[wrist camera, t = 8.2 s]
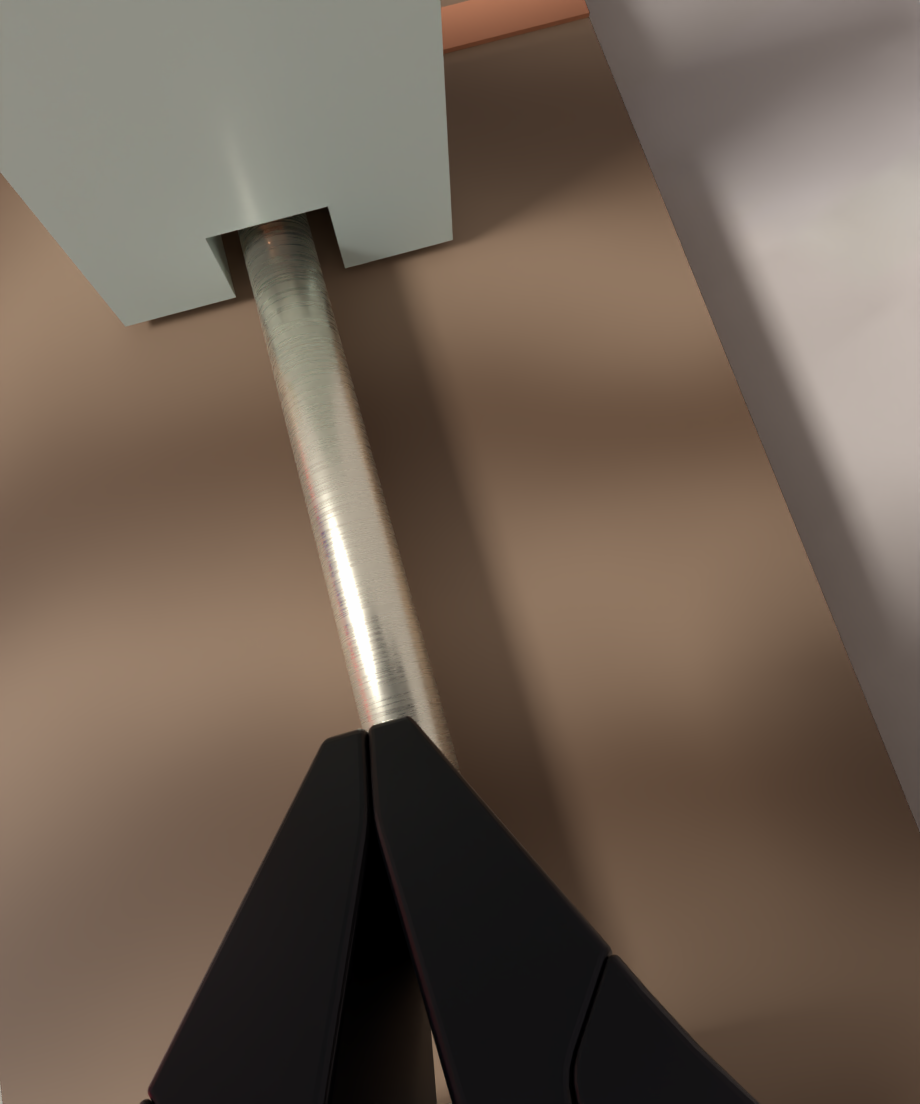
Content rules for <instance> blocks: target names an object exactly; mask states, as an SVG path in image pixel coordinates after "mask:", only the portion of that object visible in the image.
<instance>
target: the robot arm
mask: <svg viewBox="0 0 920 1104" xmlns="http://www.w3.org/2000/svg"><path fill="white" fill-rule="evenodd" d="M431 1031H432V1034H433V1038H434V1042H435V1045H436V1049H437V1052H438V1056H439V1059H440V1063H441V1066H442V1070H443V1073H444V1077H445V1080H446V1084H447V1087H448V1091H449V1094H450V1098H451V1102H452V1104H760V1103H759V1102H758V1101H757V1100H756V1099H755V1098H754V1097H753V1096H751V1095H750V1094H749V1093H748V1092H747V1091H746V1090H745V1089H744V1088H743V1087H742V1086H741V1085H740V1084H739V1083H738V1082H737V1081H736V1080H735V1079H734V1078H733V1077H732V1076H731V1075H730V1074H729V1073H728V1072H727V1071H725V1070H724V1069H723V1068H722V1067H721V1066H720V1065H719V1064H718V1063H717V1062H716V1061H715V1060H714V1059H713V1058H712V1057H711V1056H710V1055H709V1054H708V1053H707V1052H706V1051H705V1050H704V1049H703V1048H702V1047H701V1046H700V1045H699V1044H698V1043H697V1042H696V1041H695V1040H694V1039H693V1038H692V1037H691V1036H690V1034H689V1033H688V1032H687V1031H686V1030H685V1029H684V1028H683V1027H682V1026H681V1025H680V1024H679V1023H678V1022H677V1020H676V1019H675V1018H674V1017H673V1016H672V1015H671V1014H670V1013H669V1012H668V1011H667V1010H666V1009H665V1007H664V1006H663V1005H662V1004H661V1003H660V1002H659V1001H658V1000H657V999H656V998H655V997H654V996H653V995H652V993H651V992H650V991H649V990H648V989H647V988H646V987H645V986H644V984H643V983H642V982H641V981H640V980H639V979H638V977H637V976H636V975H635V974H634V973H633V972H632V971H631V969H630V968H629V967H628V966H627V965H626V964H625V962H624V961H623V960H622V959H621V958H620V957H619V956H618V955H615V954H612V950H611V947H610V946H609V945H608V944H607V942H606V941H605V940H604V939H603V938H602V937H601V935H600V934H599V933H598V932H597V931H596V930H595V929H594V927H593V926H592V925H591V924H590V923H589V922H588V920H587V919H586V918H585V917H584V916H583V915H582V914H581V912H580V911H579V910H578V909H577V908H576V907H575V905H574V904H573V903H572V902H571V901H570V900H569V899H568V897H567V896H566V895H565V894H564V893H563V892H562V890H561V889H560V888H559V887H558V886H557V885H556V883H555V882H554V881H553V880H552V879H551V878H550V877H549V875H548V874H547V873H546V872H545V871H544V870H543V868H542V867H541V866H540V865H539V864H538V863H537V862H536V860H535V859H534V858H533V857H532V856H531V855H530V853H529V852H528V851H527V850H526V849H525V848H524V846H523V845H522V844H521V843H520V842H519V841H518V840H517V838H516V837H515V836H514V835H513V834H512V833H511V831H510V830H509V829H508V828H507V827H506V826H505V825H504V823H503V822H502V821H501V820H500V819H499V818H498V816H497V815H496V814H495V813H494V812H493V811H492V809H491V808H490V807H489V806H488V805H487V804H486V803H485V801H484V800H483V799H482V798H481V797H480V796H479V794H478V793H477V792H476V791H475V790H474V789H473V788H472V786H471V785H470V784H469V783H468V782H467V781H466V779H465V778H464V777H463V776H462V775H461V774H460V772H459V771H458V770H457V769H456V768H455V767H454V766H453V764H452V763H451V762H450V761H449V760H448V759H447V757H446V756H445V755H444V754H443V753H442V752H441V751H440V749H439V748H438V747H437V746H436V745H435V744H434V742H433V741H432V740H431V739H430V738H429V737H428V735H427V734H426V733H425V732H424V731H423V730H422V729H421V727H420V726H419V725H418V724H417V723H416V722H415V720H414V719H412V718H411V717H410V716H401V717H397V718H394V719H391V720H387V721H384V722H380V723H377V724H374V725H372V726H371V727H370V729H369V732H367V731H366V730H364V729H356V730H353V731H349V732H346V733H342V734H339V735H336V736H332V737H329V738H327V739H325V741H324V742H323V743H322V744H321V746H320V748H319V750H318V752H317V753H316V755H315V757H314V759H313V761H312V763H311V765H310V767H309V769H308V771H307V773H306V775H305V777H304V779H303V781H302V783H301V785H300V787H299V789H298V791H297V793H296V795H295V797H294V799H293V801H292V803H291V805H290V807H289V809H288V811H287V813H286V815H285V817H284V819H283V821H282V823H281V825H280V827H279V829H278V831H277V833H276V835H275V837H274V839H273V841H272V843H271V845H270V847H269V849H268V851H267V853H266V855H265V857H264V859H263V861H262V863H261V865H260V867H259V869H258V871H257V873H256V874H255V876H254V878H253V880H252V882H251V884H250V886H249V888H248V890H247V892H246V894H245V896H244V898H243V900H242V902H241V904H240V906H239V908H238V910H237V912H236V914H235V916H234V918H233V920H232V922H231V924H230V926H229V928H228V930H227V932H226V934H225V936H224V938H223V940H222V942H221V944H220V946H219V948H218V950H217V952H216V954H215V956H214V958H213V960H212V962H211V964H210V966H209V968H208V970H207V972H206V974H205V976H204V978H203V980H202V982H201V984H200V986H199V988H198V990H197V992H196V994H195V995H194V997H193V999H192V1001H191V1003H190V1005H189V1007H188V1009H187V1011H186V1013H185V1015H184V1017H183V1019H182V1021H181V1023H180V1025H179V1027H178V1029H177V1031H176V1033H175V1035H174V1037H173V1039H172V1041H171V1043H170V1045H169V1047H168V1049H167V1051H166V1053H165V1055H164V1057H163V1059H162V1061H161V1063H160V1065H159V1067H158V1069H157V1071H156V1073H155V1075H154V1077H153V1079H152V1081H151V1083H150V1085H149V1087H148V1090H147V1092H148V1095H149V1097H150V1099H151V1100H150V1099H144V1100H142V1101H141V1102H140V1104H437V1097H436V1084H435V1072H434V1059H433V1046H432V1034H431Z"/></svg>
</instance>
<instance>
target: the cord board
mask: <svg viewBox="0 0 920 1104" xmlns="http://www.w3.org/2000/svg"><path fill="white" fill-rule="evenodd" d="M440 1H441V21H442V40H443V59H444V78H445V98H446V117H447V136H448V156H449V175H450V194H451V213H452V233H453V240H451V241H447V242H443V243H439V244H436V245H432V246H428V247H424V248H420V249H417V250H413V251H409V252H405V253H402V254H398V255H394V256H390V257H386V258H383V259H379V260H375V261H371V262H368V263H364V264H360V265H356V266H352V267H349V268H345V266H344V263H343V259H342V256H341V252H340V249H339V245H338V242H337V238H336V235H335V231H334V228H333V224H332V221H331V217H330V214H329V210H328V207H324V208H320V209H316V210H312V211H308V212H305V213H306V216H307V220H308V224H309V227H310V231H311V234H312V238H313V242H314V245H315V249H316V252H317V256H318V260H319V263H320V267H321V271H322V274H323V278H324V281H325V285H326V289H327V292H328V296H329V299H330V303H331V307H332V310H333V314H334V318H335V321H336V325H337V328H338V332H339V336H340V339H341V343H342V346H343V350H344V354H345V357H346V361H347V365H348V368H349V372H350V375H351V379H352V383H353V386H354V390H355V393H356V397H357V401H358V404H359V408H360V412H361V415H362V419H363V422H364V426H365V430H366V433H367V437H368V440H369V444H370V448H371V451H372V455H373V459H374V462H375V466H376V469H377V473H378V477H379V480H380V484H381V487H382V491H383V495H384V498H385V502H386V506H387V509H388V513H389V516H390V520H391V524H392V527H393V531H394V534H395V538H396V542H397V545H398V549H399V553H400V556H401V560H402V563H403V567H404V571H405V574H406V578H407V581H408V585H409V589H410V592H411V596H412V600H413V603H414V607H415V610H416V614H417V618H418V621H419V625H420V628H421V632H422V636H423V639H424V643H425V647H426V650H427V654H428V657H429V661H430V665H431V668H432V672H433V675H434V679H435V683H436V686H437V690H438V694H439V697H440V701H441V704H442V708H443V712H444V715H445V719H446V722H447V726H448V730H449V733H450V737H451V741H452V744H453V748H454V751H455V755H456V759H457V762H458V766H459V769H460V773H461V775H462V776H463V777H464V778H465V779H466V781H467V782H468V783H469V784H470V785H471V786H472V788H473V789H474V790H475V791H476V792H477V793H478V794H479V796H480V797H481V798H482V799H483V800H484V801H485V803H486V804H487V805H488V806H489V807H490V808H491V809H492V811H493V812H494V813H495V814H496V815H497V816H498V818H499V819H500V820H501V821H502V822H503V823H504V825H505V826H506V827H507V828H508V829H509V830H510V831H511V833H512V834H513V835H514V836H515V837H516V838H517V840H518V841H519V842H520V843H521V844H522V845H523V846H524V848H525V849H526V850H527V851H528V852H529V853H530V855H531V856H532V857H533V858H534V859H535V860H536V862H537V863H538V864H539V865H540V866H541V867H542V868H543V870H544V871H545V872H546V873H547V874H548V875H549V877H550V878H551V879H552V880H553V881H554V882H555V883H556V885H557V886H558V887H559V888H560V889H561V890H562V892H563V893H564V894H565V895H566V896H567V897H568V899H569V900H570V901H571V902H572V903H573V904H574V905H575V907H576V908H577V909H578V910H579V911H580V912H581V914H582V915H583V916H584V917H585V918H586V919H587V920H588V922H589V923H590V924H591V925H592V926H593V927H594V929H595V930H596V931H597V932H598V933H599V934H600V935H601V937H602V938H603V939H604V940H605V941H606V942H607V944H608V945H609V946H610V947H611V950H612V954H615V955H618V956H619V957H620V958H621V959H622V960H623V961H624V962H625V964H626V965H627V966H628V967H629V968H630V969H631V971H632V972H633V973H634V974H635V975H636V976H637V977H638V979H639V980H640V981H641V982H642V983H643V984H644V986H645V987H646V988H647V989H648V990H649V991H650V992H651V993H652V995H653V996H654V997H655V998H656V999H657V1000H658V1001H659V1002H660V1003H661V1004H662V1005H663V1006H664V1007H665V1009H666V1010H667V1011H668V1012H669V1013H670V1014H671V1015H672V1016H673V1017H674V1018H675V1019H676V1020H677V1022H678V1023H679V1024H680V1025H681V1026H682V1027H683V1028H684V1029H685V1030H686V1031H687V1032H688V1033H689V1034H690V1036H691V1037H692V1038H693V1039H694V1040H695V1041H696V1042H697V1043H698V1044H699V1045H700V1046H701V1047H702V1048H703V1049H704V1050H705V1051H706V1052H707V1053H708V1054H709V1055H710V1056H711V1057H712V1058H713V1059H714V1060H715V1061H716V1062H717V1063H718V1064H719V1065H720V1066H721V1067H722V1068H723V1069H724V1070H725V1071H727V1072H728V1073H729V1074H730V1075H731V1076H732V1077H733V1078H734V1079H735V1080H736V1081H737V1082H738V1083H739V1084H740V1085H741V1086H742V1087H743V1088H744V1089H745V1090H746V1091H747V1092H748V1093H749V1094H750V1095H751V1096H753V1097H754V1098H755V1099H756V1100H757V1101H758V1102H759V1103H760V1104H920V832H919V829H918V827H917V825H916V822H915V820H914V817H913V815H912V812H911V810H910V807H909V805H908V802H907V800H906V797H905V795H904V793H903V790H902V788H901V785H900V783H899V780H898V778H897V775H896V773H895V770H894V768H893V765H892V763H891V760H890V758H889V756H888V753H887V751H886V748H885V746H884V743H883V741H882V738H881V736H880V733H879V731H878V728H877V726H876V723H875V721H874V719H873V716H872V714H871V711H870V709H869V706H868V704H867V701H866V699H865V696H864V694H863V691H862V689H861V687H860V684H859V682H858V679H857V677H856V674H855V672H854V669H853V667H852V664H851V662H850V659H849V657H848V654H847V652H846V650H845V647H844V645H843V642H842V640H841V637H840V635H839V632H838V630H837V627H836V625H835V622H834V620H833V618H832V615H831V613H830V610H829V608H828V605H827V603H826V600H825V598H824V595H823V593H822V590H821V588H820V585H819V583H818V581H817V578H816V576H815V573H814V571H813V568H812V566H811V563H810V561H809V558H808V556H807V553H806V551H805V548H804V546H803V544H802V541H801V539H800V536H799V534H798V531H797V529H796V526H795V524H794V521H793V519H792V516H791V514H790V512H789V509H788V507H787V504H786V502H785V499H784V497H783V494H782V492H781V489H780V487H779V484H778V482H777V479H776V477H775V475H774V472H773V470H772V467H771V465H770V462H769V460H768V457H767V455H766V452H765V450H764V447H763V445H762V443H761V440H760V438H759V435H758V433H757V430H756V428H755V425H754V423H753V420H752V418H751V415H750V413H749V410H748V408H747V406H746V403H745V401H744V398H743V396H742V393H741V391H740V388H739V386H738V383H737V381H736V378H735V376H734V373H733V371H732V369H731V366H730V364H729V361H728V359H727V356H726V354H725V351H724V349H723V346H722V344H721V341H720V339H719V337H718V334H717V332H716V329H715V327H714V324H713V322H712V319H711V317H710V314H709V312H708V309H707V307H706V304H705V302H704V300H703V297H702V295H701V292H700V290H699V287H698V285H697V282H696V280H695V277H694V275H693V272H692V270H691V268H690V265H689V263H688V260H687V258H686V255H685V253H684V250H683V248H682V245H681V243H680V240H679V238H678V235H677V233H676V231H675V228H674V226H673V223H672V221H671V218H670V216H669V213H668V211H667V208H666V206H665V203H664V201H663V198H662V196H661V194H660V191H659V189H658V186H657V184H656V181H655V179H654V176H653V174H652V171H651V169H650V166H649V164H648V162H647V159H646V157H645V154H644V152H643V149H642V147H641V144H640V142H639V139H638V137H637V134H636V132H635V129H634V127H633V125H632V122H631V120H630V117H629V115H628V112H627V110H626V107H625V105H624V102H623V100H622V97H621V95H620V93H619V90H618V88H617V85H616V83H615V80H614V78H613V75H612V73H611V70H610V68H609V65H608V63H607V60H606V58H605V56H604V53H603V51H602V48H601V46H600V43H599V41H598V38H597V36H596V33H595V31H594V28H593V26H592V23H591V21H590V19H589V10H588V8H587V5H586V3H585V0H440ZM221 238H222V242H223V246H224V250H225V254H226V258H227V263H228V267H229V271H230V275H231V279H232V283H233V287H234V291H235V295H236V297H235V298H232V299H228V300H224V301H220V302H217V303H213V304H209V305H205V306H201V307H198V308H194V309H190V310H186V311H183V312H179V313H175V314H171V315H168V316H164V317H160V318H156V319H152V320H149V321H145V322H141V323H137V324H134V325H130V326H126V327H125V325H124V324H123V323H122V322H121V320H120V319H119V318H118V317H117V316H116V314H115V313H114V312H113V311H112V309H111V308H110V307H109V306H108V304H107V303H106V302H105V301H104V300H103V298H102V297H101V296H100V295H99V293H98V292H97V291H96V290H95V288H94V287H93V286H92V285H91V283H90V282H89V281H88V280H87V279H86V277H85V276H84V275H83V274H82V272H81V271H80V270H79V269H78V267H77V266H76V265H75V264H74V263H73V261H72V260H71V259H70V258H69V256H68V255H67V254H66V253H65V251H64V250H63V249H62V248H61V246H60V245H59V244H58V243H57V242H56V240H55V239H54V238H53V237H52V235H51V234H50V233H49V232H48V230H47V229H46V228H45V227H44V226H43V224H42V223H41V222H40V221H39V219H38V218H37V217H36V216H35V214H34V213H33V212H32V211H31V209H30V208H29V207H28V206H27V205H26V203H25V202H24V201H23V200H22V198H21V197H20V196H19V195H18V193H17V192H16V191H15V190H14V189H13V187H12V186H11V185H10V184H9V182H8V181H7V180H6V179H5V177H4V176H3V175H2V174H1V173H0V1085H1V1093H2V1101H3V1104H140V1102H141V1101H142V1100H144V1099H150V1097H149V1095H148V1092H147V1090H148V1087H149V1085H150V1083H151V1081H152V1079H153V1077H154V1075H155V1073H156V1071H157V1069H158V1067H159V1065H160V1063H161V1061H162V1059H163V1057H164V1055H165V1053H166V1051H167V1049H168V1047H169V1045H170V1043H171V1041H172V1039H173V1037H174V1035H175V1033H176V1031H177V1029H178V1027H179V1025H180V1023H181V1021H182V1019H183V1017H184V1015H185V1013H186V1011H187V1009H188V1007H189V1005H190V1003H191V1001H192V999H193V997H194V995H195V994H196V992H197V990H198V988H199V986H200V984H201V982H202V980H203V978H204V976H205V974H206V972H207V970H208V968H209V966H210V964H211V962H212V960H213V958H214V956H215V954H216V952H217V950H218V948H219V946H220V944H221V942H222V940H223V938H224V936H225V934H226V932H227V930H228V928H229V926H230V924H231V922H232V920H233V918H234V916H235V914H236V912H237V910H238V908H239V906H240V904H241V902H242V900H243V898H244V896H245V894H246V892H247V890H248V888H249V886H250V884H251V882H252V880H253V878H254V876H255V874H256V873H257V871H258V869H259V867H260V865H261V863H262V861H263V859H264V857H265V855H266V853H267V851H268V849H269V847H270V845H271V843H272V841H273V839H274V837H275V835H276V833H277V831H278V829H279V827H280V825H281V823H282V821H283V819H284V817H285V815H286V813H287V811H288V809H289V807H290V805H291V803H292V801H293V799H294V797H295V795H296V793H297V791H298V789H299V787H300V785H301V783H302V781H303V779H304V777H305V775H306V773H307V771H308V769H309V767H310V765H311V763H312V761H313V759H314V757H315V755H316V753H317V752H318V750H319V748H320V746H321V744H322V743H323V742H324V741H325V739H327V738H329V737H332V736H336V735H339V734H342V733H346V732H349V731H353V730H356V729H362V725H361V721H360V717H359V713H358V709H357V705H356V701H355V697H354V693H353V689H352V685H351V681H350V677H349V673H348V669H347V665H346V661H345V657H344V653H343V649H342V645H341V641H340V637H339V633H338V629H337V625H336V621H335V617H334V613H333V609H332V605H331V601H330V597H329V594H328V590H327V586H326V582H325V578H324V574H323V570H322V566H321V562H320V558H319V554H318V550H317V546H316V542H315V538H314V534H313V530H312V526H311V522H310V518H309V514H308V510H307V506H306V502H305V498H304V494H303V490H302V486H301V482H300V478H299V474H298V470H297V466H296V462H295V458H294V454H293V450H292V446H291V442H290V438H289V434H288V430H287V426H286V422H285V418H284V414H283V410H282V406H281V402H280V398H279V394H278V390H277V386H276V382H275V378H274V374H273V370H272V366H271V362H270V358H269V354H268V350H267V346H266V342H265V338H264V334H263V330H262V326H261V322H260V318H259V314H258V310H257V306H256V302H255V298H254V294H253V290H252V286H251V282H250V279H249V275H248V271H247V267H246V263H245V259H244V255H243V251H242V247H241V243H240V239H239V235H238V231H237V230H236V231H232V232H228V233H224V234H221ZM431 1034H432V1031H431ZM432 1046H433V1059H434V1072H435V1084H436V1097H437V1104H447V1103H450V1102H451V1098H450V1094H449V1091H448V1087H447V1084H446V1080H445V1077H444V1073H443V1070H442V1066H441V1063H440V1059H439V1056H438V1052H437V1049H436V1045H435V1042H434V1038H433V1034H432ZM150 1100H151V1099H150Z"/></svg>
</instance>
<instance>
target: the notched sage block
mask: <svg viewBox="0 0 920 1104" xmlns="http://www.w3.org/2000/svg"><path fill="white" fill-rule="evenodd" d="M0 173H1V174H2V175H3V176H4V177H5V179H6V180H7V181H8V182H9V184H10V185H11V186H12V187H13V189H14V190H15V191H16V192H17V193H18V195H19V196H20V197H21V198H22V200H23V201H24V202H25V203H26V205H27V206H28V207H29V208H30V209H31V211H32V212H33V213H34V214H35V216H36V217H37V218H38V219H39V221H40V222H41V223H42V224H43V226H44V227H45V228H46V229H47V230H48V232H49V233H50V234H51V235H52V237H53V238H54V239H55V240H56V242H57V243H58V244H59V245H60V246H61V248H62V249H63V250H64V251H65V253H66V254H67V255H68V256H69V258H70V259H71V260H72V261H73V263H74V264H75V265H76V266H77V267H78V269H79V270H80V271H81V272H82V274H83V275H84V276H85V277H86V279H87V280H88V281H89V282H90V283H91V285H92V286H93V287H94V288H95V290H96V291H97V292H98V293H99V295H100V296H101V297H102V298H103V300H104V301H105V302H106V303H107V304H108V306H109V307H110V308H111V309H112V311H113V312H114V313H115V314H116V316H117V317H118V318H119V319H120V320H121V322H122V323H123V324H124V325H125V327H126V326H130V325H134V324H137V323H141V322H145V321H149V320H152V319H156V318H160V317H164V316H168V315H171V314H175V313H179V312H183V311H186V310H190V309H194V308H198V307H201V306H205V305H209V304H213V303H217V302H220V301H224V300H228V299H232V298H235V297H236V295H235V291H234V287H233V283H232V279H231V275H230V271H229V267H228V263H227V258H226V254H225V250H224V246H223V242H222V238H221V234H224V233H228V232H232V231H236V230H239V229H243V228H247V227H251V226H255V225H259V224H262V223H266V222H270V221H274V220H278V219H282V218H285V217H289V216H293V215H297V214H301V213H305V212H308V211H312V210H316V209H320V208H324V207H328V210H329V214H330V217H331V221H332V224H333V228H334V231H335V235H336V238H337V242H338V245H339V249H340V252H341V256H342V259H343V263H344V266H345V268H349V267H352V266H356V265H360V264H364V263H368V262H371V261H375V260H379V259H383V258H386V257H390V256H394V255H398V254H402V253H405V252H409V251H413V250H417V249H420V248H424V247H428V246H432V245H436V244H439V243H443V242H447V241H451V240H453V233H452V213H451V194H450V175H449V156H448V136H447V117H446V98H445V78H444V59H443V40H442V21H441V1H440V0H0Z"/></svg>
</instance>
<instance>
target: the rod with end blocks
mask: <svg viewBox="0 0 920 1104" xmlns="http://www.w3.org/2000/svg"><path fill="white" fill-rule="evenodd" d="M237 231H238V235H239V239H240V243H241V247H242V251H243V255H244V259H245V263H246V267H247V271H248V275H249V279H250V282H251V286H252V290H253V294H254V298H255V302H256V306H257V310H258V314H259V318H260V322H261V326H262V330H263V334H264V338H265V342H266V346H267V350H268V354H269V358H270V362H271V366H272V370H273V374H274V378H275V382H276V386H277V390H278V394H279V398H280V402H281V406H282V410H283V414H284V418H285V422H286V426H287V430H288V434H289V438H290V442H291V446H292V450H293V454H294V458H295V462H296V466H297V470H298V474H299V478H300V482H301V486H302V490H303V494H304V498H305V502H306V506H307V510H308V514H309V518H310V522H311V526H312V530H313V534H314V538H315V542H316V546H317V550H318V554H319V558H320V562H321V566H322V570H323V574H324V578H325V582H326V586H327V590H328V594H329V597H330V601H331V605H332V609H333V613H334V617H335V621H336V625H337V629H338V633H339V637H340V641H341V645H342V649H343V653H344V657H345V661H346V665H347V669H348V673H349V677H350V681H351V685H352V689H353V693H354V697H355V701H356V705H357V709H358V713H359V717H360V721H361V725H362V729H364V730H366V731H367V732H369V729H370V727H371V726H372V725H374V724H377V723H380V722H384V721H387V720H391V719H394V718H397V717H401V716H410V717H411V718H412V719H414V720H415V722H416V723H417V724H418V725H419V726H420V727H421V729H422V730H423V731H424V732H425V733H426V734H427V735H428V737H429V738H430V739H431V740H432V741H433V742H434V744H435V745H436V746H437V747H438V748H439V749H440V751H441V752H442V753H443V754H444V755H445V756H446V757H447V759H448V760H449V761H450V762H451V763H452V764H453V766H454V767H455V768H456V769H457V770H458V771H459V772H460V769H459V766H458V762H457V759H456V755H455V751H454V748H453V744H452V741H451V737H450V733H449V730H448V726H447V722H446V719H445V715H444V712H443V708H442V704H441V701H440V697H439V694H438V690H437V686H436V683H435V679H434V675H433V672H432V668H431V665H430V661H429V657H428V654H427V650H426V647H425V643H424V639H423V636H422V632H421V628H420V625H419V621H418V618H417V614H416V610H415V607H414V603H413V600H412V596H411V592H410V589H409V585H408V581H407V578H406V574H405V571H404V567H403V563H402V560H401V556H400V553H399V549H398V545H397V542H396V538H395V534H394V531H393V527H392V524H391V520H390V516H389V513H388V509H387V506H386V502H385V498H384V495H383V491H382V487H381V484H380V480H379V477H378V473H377V469H376V466H375V462H374V459H373V455H372V451H371V448H370V444H369V440H368V437H367V433H366V430H365V426H364V422H363V419H362V415H361V412H360V408H359V404H358V401H357V397H356V393H355V390H354V386H353V383H352V379H351V375H350V372H349V368H348V365H347V361H346V357H345V354H344V350H343V346H342V343H341V339H340V336H339V332H338V328H337V325H336V321H335V318H334V314H333V310H332V307H331V303H330V299H329V296H328V292H327V289H326V285H325V281H324V278H323V274H322V271H321V267H320V263H319V260H318V256H317V252H316V249H315V245H314V242H313V238H312V234H311V231H310V227H309V224H308V220H307V216H306V213H301V214H297V215H293V216H289V217H285V218H282V219H278V220H274V221H270V222H266V223H262V224H259V225H255V226H251V227H247V228H243V229H239V230H237ZM460 774H461V773H460ZM447 1104H452V1102H450V1103H447Z"/></svg>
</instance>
